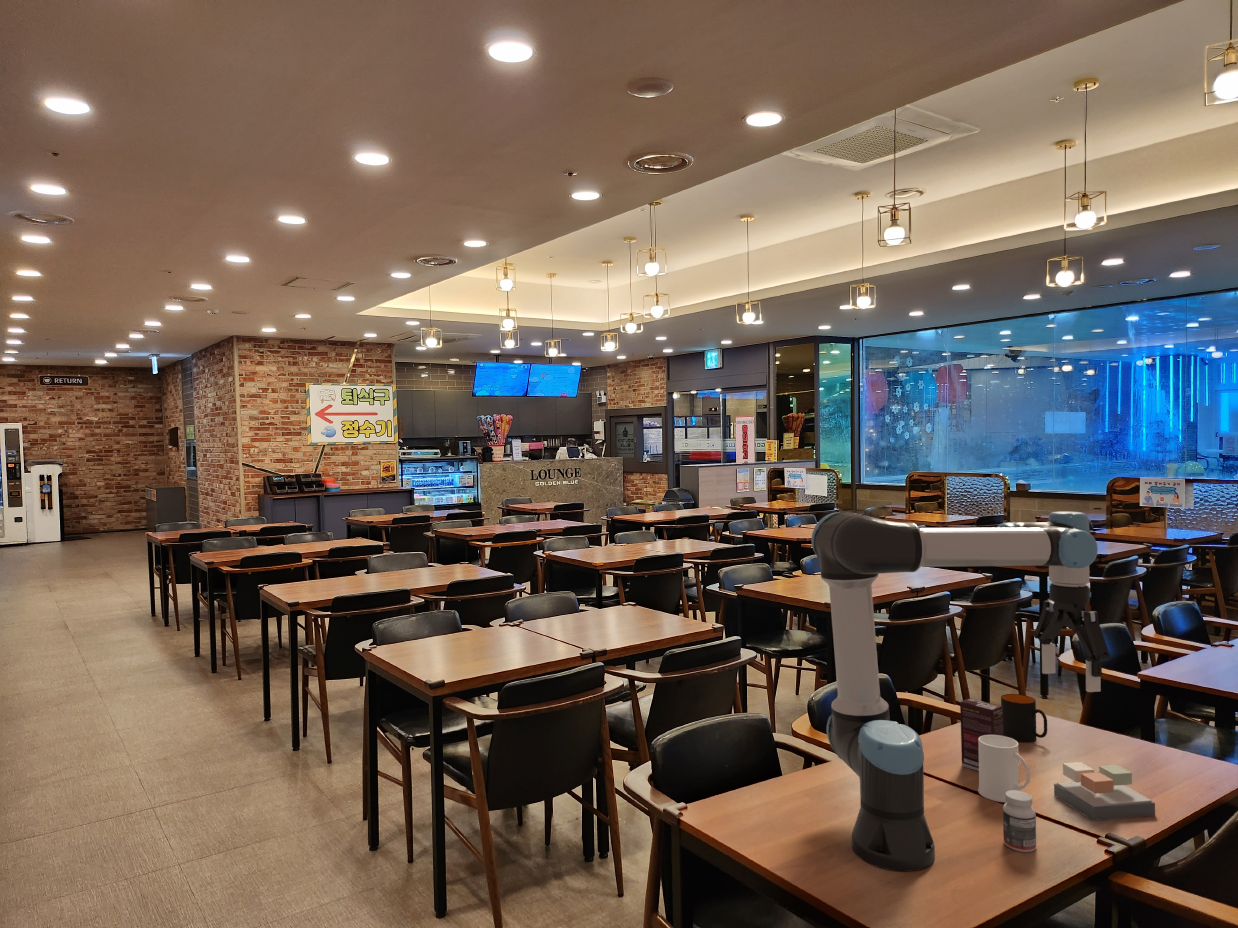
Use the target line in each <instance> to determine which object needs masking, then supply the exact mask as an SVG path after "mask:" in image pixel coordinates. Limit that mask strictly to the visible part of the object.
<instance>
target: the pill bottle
mask: <svg viewBox="0 0 1238 928" xmlns="http://www.w3.org/2000/svg"><path fill="white" fill-rule="evenodd" d="M1005 799H1006V801H1007V802H1004V804H1003V806H1002V825H1003V826H1002V827H1003V829H1002V830H1003V832H1002V833H1003V834H1002V836H1003V842H1004V844H1005V846H1007V847H1008V848H1010V849H1011V850H1014V851H1017V852H1020V853H1031V852H1034V851H1035V850H1036V848H1037V815H1036V813H1037V812H1036V810H1035V808H1034V807H1033V806H1032V805H1033V796H1032V795H1031V794H1030V793H1027V792H1025V791H1022V790H1019V791H1018V790H1010V791H1007V792H1006V794H1005Z"/></svg>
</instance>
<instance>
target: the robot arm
mask: <svg viewBox="0 0 1238 928" xmlns="http://www.w3.org/2000/svg"><path fill="white" fill-rule="evenodd" d="M1089 520H1090V519H1089V517H1088V515H1087V514H1086V513H1084V512H1080V511H1052V512H1049V515H1048V519H1047V521H1041V522H1040V521H1039V522H1038V521H1035V522H1034V521H1033V522H1030V521H1029V522H1028V521H1024V522H1020V521H1019V522H1017V521H1016V522H1015V521H1011V522H1003V523H1000V524H998V525H997V526H996V527H919V526H918V525H917V524H916V523H915V522H901V521H900V522H898V521H890V520H886V519H882V518H877V517H874V516H869V515H863V514H857V513H854V512H852V511H838V512H837V511H836V512H832V513H829V514H827V515H825V516H823V517H822V518H820V520H819V521H818V522H817V523H816V525H815V526H814V528H813V531H812V534H811V546H812V550H813V552H814V555H816V557H817V558H818V559H819V567H820V568H819V569H820V578H821V579H822V581H824V582H825V583H826V584H827V585H828V587H829V589H828V590H829V599H830V600H829V601H830V611H831V627H832V639H833V649H834V651H833V652H834V663H835V664H834V665H835V676H836V687H837V697H836V698H835V699H834V700H832V702H831V707H830V708H831V715H829V717H828V719H827V722H826V723H827V724H826V736H827V740H828V742H829V745H830V747H831V748H832V750H833V752H834V753H835V755H836V756H837V757H838V758H839V759H840V760H842V761H843V762H844V763H845V764H846V765H847V766H848V767H849V768H850V769H851V770H852V771H853V772H854V773H855V774H856V776H858V777H859V794H860V798H859V799H860V808H859V810H858V815H857V817H856V820H855V824H854V826H853V829H852V833H851V847H852V850H853V852H854V854H856V856H858V857H859V858H860V859H861V858H862V859H861V860H863V861H865V862H866V863H868V864H870V865H873V866H875V867H879V868H882V869H886V870H890V871H898V872H899V871H901V872H903V871H904V872H907V871H908V872H909V871H910V872H912V871H919V870H923V869H925V868H927V867H930V866H931V865H932V864H933V863H934V862H935V859H936V858H935V857H936V854H935V853H936V851H935V850H936V847H935V842H934V839H933V836H932V833H931V830H930V828H929V825H928V823H927V819H926V815H925V791H924V790H925V789H924V788H925V787H924V786H925V784H924V782H925V781H924V780H925V779H924V777H925V775H924V772H925V770H924V763H925V752H924V749H923V742H922V739H921V737H920V735H919V734H918V733H917V732H916V731H915V730H914V729H913V728H912V727H910V726H908V725H905V724H901V723H900V724H899V722H897V721H893V720H890V708H889V707H890V705H889V703H888V702H887V701H886V700H884V698H882V697H881V690H880V678H879V666H878V651H877V642H876V641H877V640H876V639H877V638H876V627H875V613H874V611H875V610H874V599H873V587H872V584H873V583H874V582H875V581H876V580H877V578H878V577H879V574H882V575H883V574H893V573H895V574H896V573H897V574H898V573H915V572H917V571H918V570H919V569H920V568H921V567H923V568H924V567H926V568H927V567H928V568H930V567H934V568H935V567H1003V566H1004V567H1006V566H1007V567H1009V566H1010V567H1012V566H1013V567H1014V566H1015V567H1017V566H1019V567H1020V566H1021V567H1022V566H1045V567H1046V566H1047V567H1048V580H1049V581H1050V584H1049V600H1043V602H1042V603H1043V604H1042V611H1041V613H1040V617H1039V619H1038V622H1037V625H1036V628H1035V631H1034V632H1033V637H1034V639H1037V640H1038V642H1039V644H1040V655H1041V673H1042V674H1043V675H1050V674H1056V644H1055V643H1056V641H1055V639H1056V638H1057V636H1058V635H1059V633H1060V632H1061V631H1062V629H1063V628H1064V627H1067V628H1068V629H1071V630H1072V632H1073V633H1075V634H1076V636H1077V638H1078V639H1079V642H1080V644H1081V646H1082V648H1083V650H1084V652H1085V653H1086V656H1087V658H1086V659H1085V691H1086V692H1088V693H1095V692H1096V693H1097V692H1101V691H1102V689H1101V681H1102V680H1101V677H1102V675H1103V670H1102V669H1103V661H1107V660H1108V661H1109V660H1111V654H1110V650H1109V648H1108V646H1107V642H1106V638H1105V636H1104V633H1103V631H1102V628H1101V625H1100V620H1099V619H1100V618H1099V613H1098V611H1095V610H1094V611H1093V610H1092V611H1087V609H1086V606H1087V604H1089V603H1090V601H1091V590H1090V589H1091V587H1090V586H1089V585H1088V584H1089V583H1090V565H1092V564H1093V562H1094V561H1095V560H1096V559H1097V555H1098V550H1099V549H1098V543H1097V540H1096V538H1095V537H1094V535H1092V533H1091V532H1090V521H1089Z"/></svg>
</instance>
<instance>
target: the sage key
mask: <svg viewBox="0 0 1238 928" xmlns="http://www.w3.org/2000/svg"><path fill="white" fill-rule="evenodd" d="M1098 769H1099V773H1101V774H1103V775H1105V776H1107V777H1109V778H1110V779H1112V780H1114V786H1117V785H1125V786H1128V785H1132V784H1133V773H1132V772H1131V771H1130V770H1128V769H1125V768H1124V767H1122V766H1120V765H1118V764H1113V765H1112V764H1111V765H1099V767H1098Z"/></svg>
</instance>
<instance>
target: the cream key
mask: <svg viewBox="0 0 1238 928" xmlns="http://www.w3.org/2000/svg"><path fill="white" fill-rule="evenodd" d="M1082 773H1095V769H1094V768H1092V767H1090V766H1089V765H1086V764H1085V763H1083V762H1081V761H1077V762H1076V761H1075V762H1063V763H1062V775H1063V776H1064V777H1066V778H1068V779H1070V780H1072V781H1075V782H1081V774H1082Z"/></svg>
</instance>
